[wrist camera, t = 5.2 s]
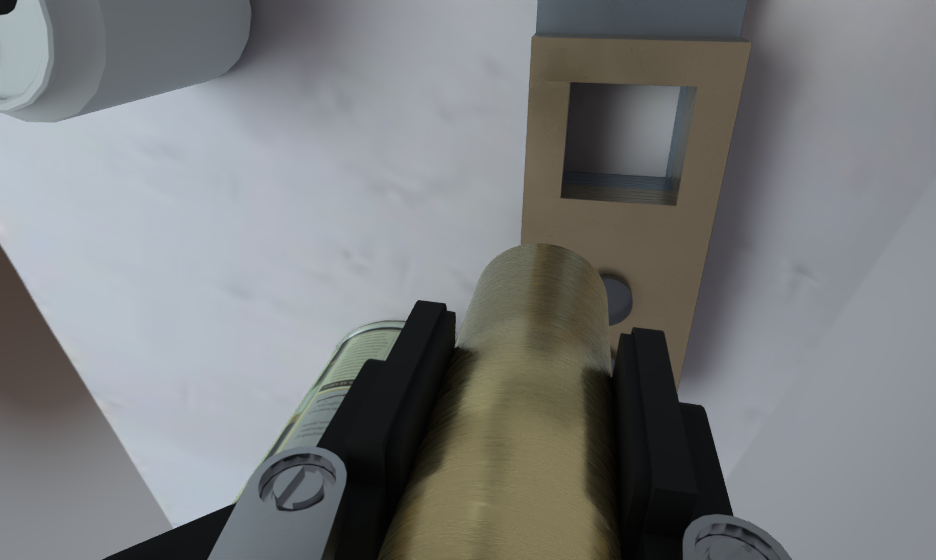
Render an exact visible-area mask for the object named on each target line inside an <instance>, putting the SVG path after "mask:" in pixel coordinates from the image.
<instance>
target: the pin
mask: <svg viewBox="0 0 936 560" xmlns="http://www.w3.org/2000/svg"><path fill="white" fill-rule="evenodd" d="M377 560H622V550H621V532H620V514H619V496H618V479H617V461H616V443H615V425H614V407H613V389H612V371H611V353H610V335H609V317H608V300H607V293H606V288H605V286H604V283H603V281H602V279H601V277H600V275H599V274H598V272H597V271H596V270H595V268H594V267H593V266H592V265H591V264H590V263H589V262H588V261H587V260H585V259H584V258H583V257H582V256H580V255H578V254H577V253H575V252H573V251H571V250H569V249H567V248H564V247H561V246H557V245H552V244H546V243H532V244H525V245H520V246H517V247H514V248H511V249H509V250H507V251H505V252H503V253H501V254H500V255H498V256H497V257H496V258H495V259H493V260H492V261H491V262H490V263H489V264H488V266H487V267H486V268H485V269H484V271H483V273H482V274H481V276H480V279H479V281H478V283H477V286H476V289H475V292H474V294H473V297H472V300H471V303H470V305H469V308H468V311H467V314H466V316H465V319H464V322H463V325H462V327H461V330H460V333H459V336H458V338H457V341H456V344H455V349H454V351H453V354H452V357H451V360H450V362H449V365H448V368H447V371H446V373H445V376H444V379H443V382H442V385H441V387H440V390H439V393H438V396H437V398H436V401H435V404H434V407H433V409H432V412H431V415H430V418H429V420H428V423H427V426H426V429H425V432H424V434H423V437H422V440H421V443H420V445H419V448H418V451H417V454H416V456H415V459H414V462H413V465H412V467H411V470H410V473H409V476H408V479H407V481H406V484H405V487H404V490H403V492H402V495H401V498H400V500H399V502H398V504H397V506H396V509H395V512H394V515H393V517H392V520H391V523H390V526H389V528H388V531H387V534H386V537H385V539H384V542H383V545H382V548H381V550H380V553H379V556H378V559H377Z"/></svg>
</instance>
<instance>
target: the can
mask: <svg viewBox="0 0 936 560" xmlns="http://www.w3.org/2000/svg"><path fill="white" fill-rule="evenodd" d="M251 13H252V12H251V6H250V0H0V113H4V114H7V115H9V116H12V117H15V118H18V119H20V120H23V121H26V122H58V121H62V120H65V119H69V118H73V117H76V116H80V115H84V114H88V113H91V112H95V111H99V110H102V109H106V108H110V107H113V106H117V105H121V104H125V103H128V102H132V101H136V100H139V99H143V98H147V97H150V96H154V95H158V94H162V93H165V92H169V91H173V90H176V89H180V88H184V87H188V86H191V85H195V84H199V83H202V82H206V81H208V80H211V79H213V78H216V77H219V76H221V75H224V74H225V73H226V72H227V71H228V70H229V69H230V68H231V67H232V66H233V65H234V64H235V63H236V62H237V61H238V60H239V59H240V57H241V55H242V52H243V50H244V48H245V46H246V43H247V41H248V39H249V32H250V23H251Z"/></svg>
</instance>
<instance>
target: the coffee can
mask: <svg viewBox="0 0 936 560" xmlns="http://www.w3.org/2000/svg"><path fill="white" fill-rule="evenodd" d="M405 323H406V322H400V321H382V322H378V323H374V324H369V325H366V326H363V327H361V328H358V329H357V330H355V331H353V332H351V333H350V334H349V335H347V336H346V337H345V338H344V339H343V340H342V341H341V342H340V343H339V344H338V345H337V346H336V349H335V350H334V352H333V354H332V356H331V358H330V360H329V361H328V363H327V364H326V366H325V367H324V369H323V370H322V372H321V373H320V375H319V376H318V378H317V379H316V381H315V382H314V384H313V385H312V387H311V388H310V390H309V391H308V392H307V394H306V395H305V397H304V398H303V400H302V401H301V403H300V404H299V406H298V407H297V409H296V410H295V412H294V413H293V415H292V416H291V418H290V419H289V421H288V422H287V424H286V425H285V427H284V428H283V430H282V431H281V432H280V434H279V435H278V437H277V438H276V440H275V441H274V443H273V444H272V446H271V447H270V448H269V450H268V451H267V453H266V454H265V456H264V457H263V459H262V460H261V462H260V463H259V465H261V464H262V463H263V462H264V461H266V460H267V459H268V458H269V457H271V456H273V455H275V454H277V453H279V452H281V451H283V450H287V449H291V448H295V447H308V446H313V447H316V445H317V444H318V442H319V440H320V438H321V437H322V435H323V433H324V431H325V430H326V428H327V426H328V425H329V423H330V421H331V419H332V418H333V416H334V414H335V413H336V411H337V409H338V407H339V406H340V404H341V402H342V400H343V399H344V397H345V395H346V394H347V392H348V390H349V388H350V387H351V385H352V383H353V382H354V380H355V378H356V376H357V375H358V373H359V371H360V369H361V368H362V366H363V364H364V363H365V362H366V360H368V359H377V360H384V361H385V360H386V359H387V357H388V355H389V353H390V351H391V349H392V347H393V345H394V343H395V342H396V340H397V338H398V336H399V334H400V332H401V330H402V328H403V326H404V325H405ZM259 465H258V466H259ZM258 466H257V468H258ZM257 468H256V469H257ZM256 469H255V470H256ZM254 472H255V471H254ZM254 472H253V473H254ZM251 476H252V475H251ZM249 479H250V478H249ZM249 479H248V481H249ZM248 481H247V482H246V484H245V485H244V487H243V488H242V490H241V491H240V493H239V494H238V496H237V497H236V499H235V500H234V502H233V503H232V504H234V503H236V502H238V500H239V498H240V496H241V494H242V492H243V490H244V489H245V487H246V485H247V483H248Z"/></svg>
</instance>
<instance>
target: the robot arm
mask: <svg viewBox="0 0 936 560" xmlns="http://www.w3.org/2000/svg"><path fill="white" fill-rule="evenodd" d="M455 325H456V315H455V312H452V311H447V307H446V304H445V303H438V302H430V301H422V300H418V301H417V302H416V304H415V306H414V308H413V309H412V311H411V313H410V315H409V317H408V319H407V321H406V323H405V325H404V326H403V328H402V330H401V332H400V334H399V336H398V338H397V340H396V342H395V343H394V345H393V347H392V349H391V351H390V353H389V355H388V357H387V359H386V360H385V361H384V360H377V359H368V360H366V362H365V363H364V364H363V366H362V368H361V369H360V371H359V373H358V375H357V376H356V378H355V380H354V382H353V383H352V385H351V387H350V388H349V390H348V392H347V394H346V395H345V397H344V399H343V400H342V402H341V404H340V406H339V407H338V409H337V411H336V413H335V414H334V416H333V418H332V419H331V421H330V423H329V425H328V426H327V428H326V430H325V431H324V433H323V435H322V437H321V438H320V440H319V442H318V444H317V445H316V447H313V446H308V447H295V448H291V449H287V450H283V451H281V452H279V453H277V454H275V455H273V456H271V457H269V458H268V459H267V460H266V461H264V462H263V463H262V464H261V465H259V466H258V468H257V469H256V470H255V472H254V473H253V474H252V476H251V477H250V479H249V481H248V483H247V485H246V487H245V489H244V490H243V492H242V494H241V496H240V498H239V500H238V502H236V503H234V504H231V505H229V506H227V507H224V508H222V509H220V510H217V511H215V512H213V513H210V514H208V515H205V516H203V517H201V518H198V519H196V520H194V521H191V522H189V523H187V524H184V525H182V526H179V527H177V528H175V529H172V530H170V531H168V532H165V533H163V534H161V535H158V536H156V537H153V538H151V539H149V540H147V541H144V542H142V543H139V544H137V545H135V546H132V547H130V548H128V549H125V550H123V551H120V552H118V553H116V554H113V555H111V556H109V557H107V558H105V559H103V560H377V559H378V556H379V553H380V550H381V548H382V545H383V542H384V539H385V537H386V534H387V531H388V528H389V526H390V523H391V520H392V517H393V515H394V512H395V509H396V506H397V504H398V502H399V500H400V498H401V495H402V492H403V490H404V487H405V484H406V481H407V479H408V476H409V473H410V470H411V467H412V465H413V462H414V459H415V456H416V454H417V451H418V448H419V445H420V443H421V440H422V437H423V434H424V432H425V429H426V426H427V423H428V420H429V418H430V415H431V412H432V409H433V407H434V404H435V401H436V398H437V396H438V393H439V390H440V387H441V385H442V382H443V379H444V376H445V373H446V371H447V368H448V365H449V362H450V360H451V357H452V354H453V351H454V349H455ZM612 389H613V407H614V425H615V443H616V461H617V479H618V496H619V514H620V532H621V550H622V560H792V559H791V557H790V556H789V555H788V553H787V552H786V551H785V549H784V548H783V547H782V545H781V544H780V543H779V542H778V541H777V540H775V539H774V538H773V537H772V536H771V535H769V533H767V532H766V531H764V530H763V529H761V528H759V527H758V526H756V525H754V524H752V523H751V522H748V521H745V520H742V519H740V518H737V517H734V516H733V512H732V508H731V505H730V501H729V497H728V493H727V490H726V486H725V482H724V478H723V474H722V471H721V467H720V463H719V459H718V456H717V452H716V448H715V444H714V441H713V437H712V433H711V429H710V426H709V422H708V418H707V414H706V411H705V409H704V407H703V406H701V405H696V404H689V403H682V402H679V400H678V395H677V391H676V386H675V381H674V376H673V371H672V367H671V362H670V357H669V352H668V347H667V343H666V338H665V333H664V331H662V330H654V329H646V328H638V327H633V328H632V331H631V334H626V333H621V334H620V338H619V343H618V348H617V354H616V359H615V364H614V370H613V375H612Z"/></svg>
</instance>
